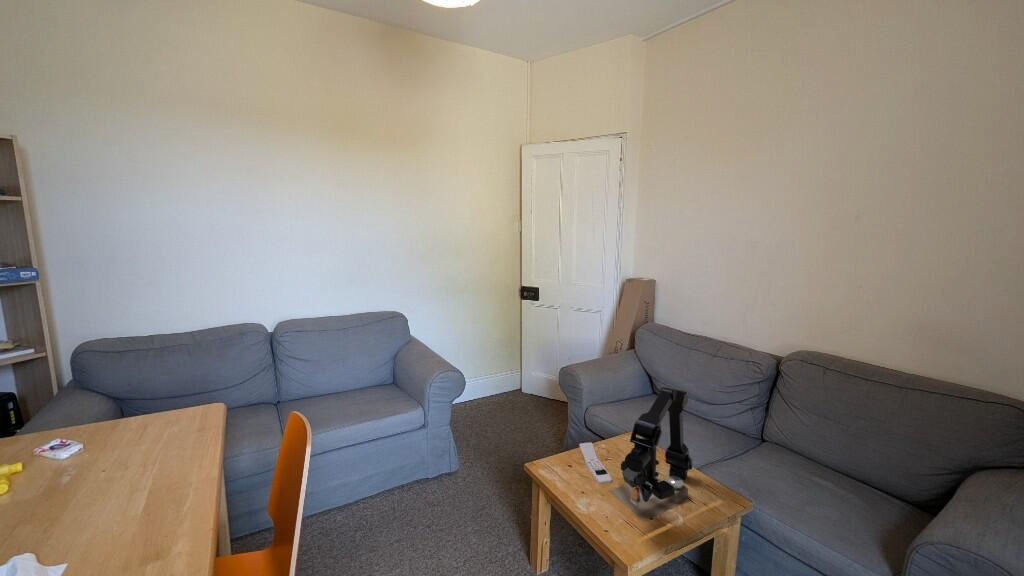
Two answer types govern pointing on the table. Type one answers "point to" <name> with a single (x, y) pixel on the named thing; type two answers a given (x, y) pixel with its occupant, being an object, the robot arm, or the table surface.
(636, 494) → the lever
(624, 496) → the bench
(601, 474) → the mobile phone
